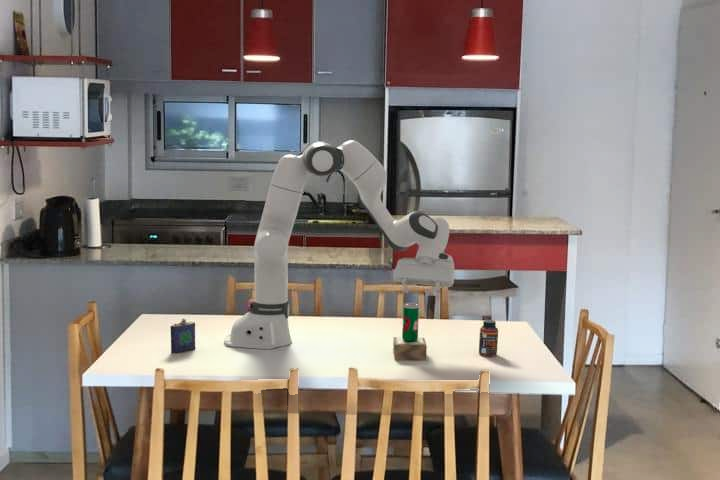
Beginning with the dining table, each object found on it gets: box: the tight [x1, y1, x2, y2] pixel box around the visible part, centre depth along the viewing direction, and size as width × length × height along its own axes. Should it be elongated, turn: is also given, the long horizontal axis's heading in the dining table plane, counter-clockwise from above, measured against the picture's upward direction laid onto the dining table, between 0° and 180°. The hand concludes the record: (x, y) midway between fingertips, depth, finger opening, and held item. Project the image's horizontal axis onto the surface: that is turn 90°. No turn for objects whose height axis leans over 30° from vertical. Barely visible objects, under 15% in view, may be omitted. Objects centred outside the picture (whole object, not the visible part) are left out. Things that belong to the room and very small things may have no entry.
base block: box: [392, 336, 428, 362], centre depth 300 cm, size 10×10×5 cm
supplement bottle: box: [478, 319, 499, 357], centre depth 304 cm, size 6×6×11 cm
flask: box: [170, 318, 196, 355], centre depth 299 cm, size 9×3×11 cm, turn 138°
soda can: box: [401, 302, 420, 342], centre depth 299 cm, size 5×5×12 cm
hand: (418, 293), depth 304 cm, fingers open, 8 cm apart
